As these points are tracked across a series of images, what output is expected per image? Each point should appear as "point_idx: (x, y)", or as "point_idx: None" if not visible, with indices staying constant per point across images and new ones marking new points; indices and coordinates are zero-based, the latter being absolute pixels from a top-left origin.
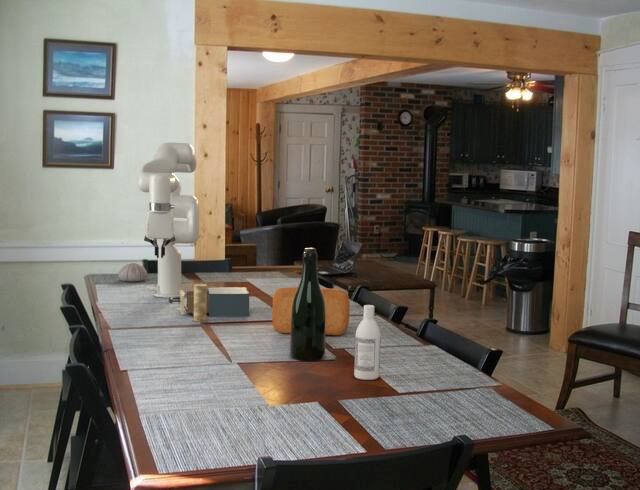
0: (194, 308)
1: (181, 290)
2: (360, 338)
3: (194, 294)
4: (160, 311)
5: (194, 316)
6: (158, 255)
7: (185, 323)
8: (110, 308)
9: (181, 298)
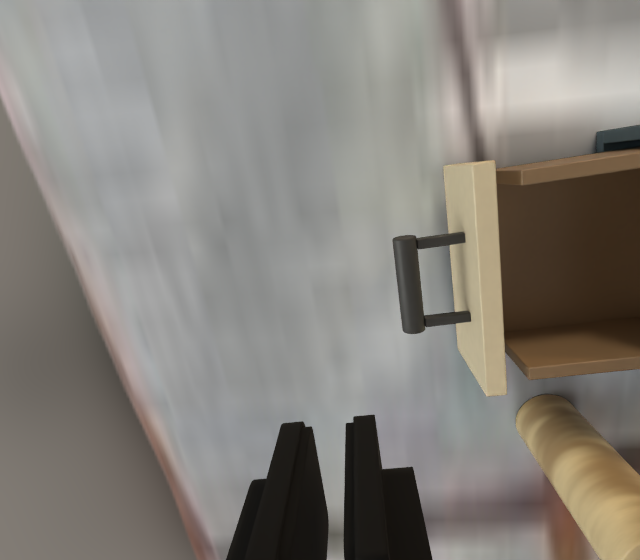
0: (545, 474)
1: (482, 176)
2: None
3: (584, 534)
4: (340, 212)
5: (528, 447)
6: (324, 548)
7: (480, 471)
8: (75, 150)
9: (484, 390)
